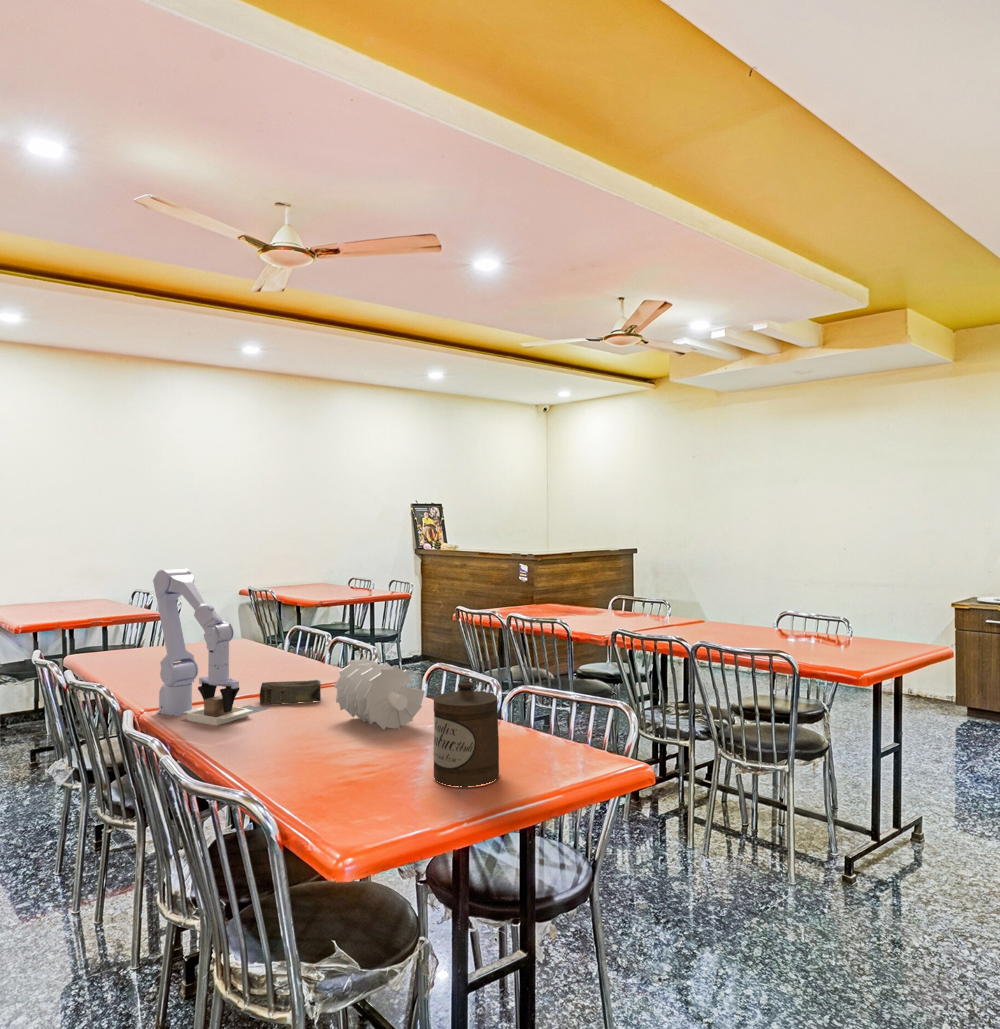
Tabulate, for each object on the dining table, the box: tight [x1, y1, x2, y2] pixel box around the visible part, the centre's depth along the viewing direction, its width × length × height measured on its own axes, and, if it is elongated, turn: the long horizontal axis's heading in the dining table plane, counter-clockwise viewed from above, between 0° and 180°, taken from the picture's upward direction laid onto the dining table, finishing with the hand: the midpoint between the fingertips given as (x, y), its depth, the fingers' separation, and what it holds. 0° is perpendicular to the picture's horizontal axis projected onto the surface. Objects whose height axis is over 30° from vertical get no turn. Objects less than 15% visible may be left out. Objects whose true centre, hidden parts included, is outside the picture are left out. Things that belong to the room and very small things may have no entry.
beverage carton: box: [259, 679, 322, 706], centre depth 243 cm, size 8×19×7 cm, turn 105°
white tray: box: [183, 706, 253, 726], centre depth 220 cm, size 17×12×2 cm
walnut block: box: [203, 694, 234, 717], centre depth 220 cm, size 7×4×6 cm, turn 152°
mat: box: [239, 705, 269, 715], centre depth 230 cm, size 9×9×1 cm
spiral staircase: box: [333, 656, 426, 731], centre depth 216 cm, size 18×18×25 cm
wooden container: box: [432, 679, 500, 787], centre depth 169 cm, size 15×15×22 cm
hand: (218, 710), depth 220 cm, fingers open, 7 cm apart
